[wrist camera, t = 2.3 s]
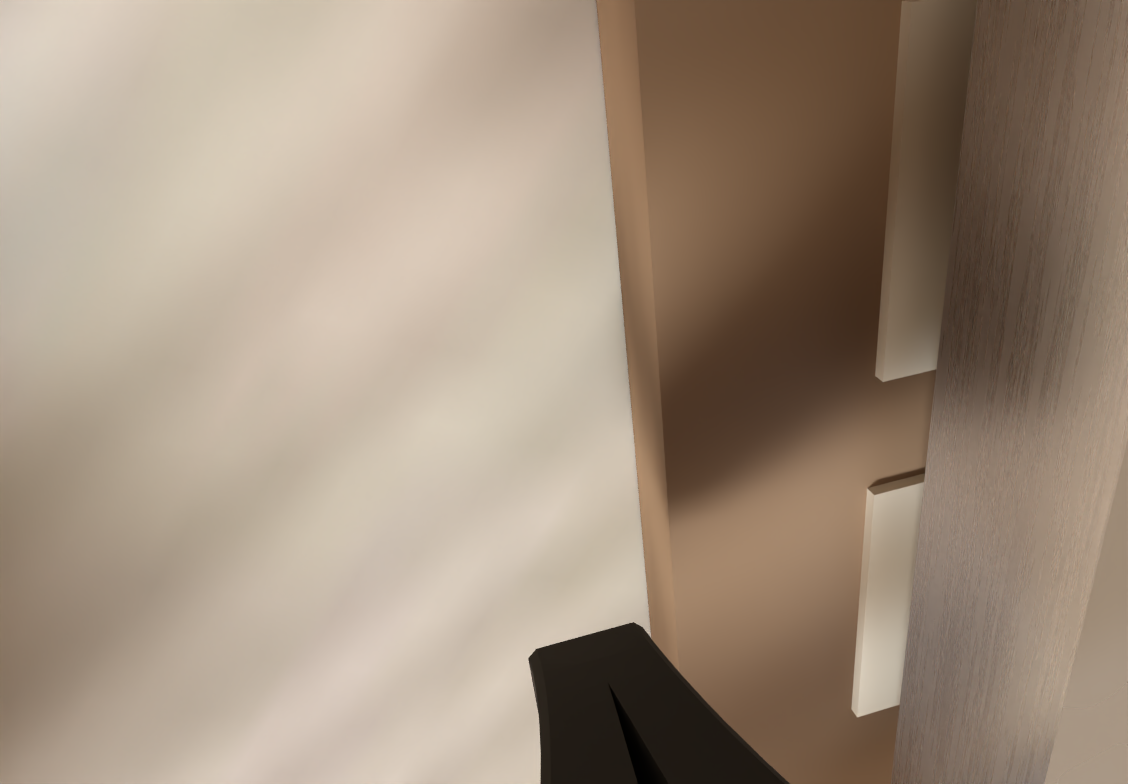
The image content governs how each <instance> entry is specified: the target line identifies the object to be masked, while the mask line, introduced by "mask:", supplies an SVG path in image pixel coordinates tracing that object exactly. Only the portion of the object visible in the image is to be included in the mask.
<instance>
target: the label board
mask: <svg viewBox="0 0 1128 784" xmlns="http://www.w3.org/2000/svg"><path fill="white" fill-rule="evenodd" d="M596 2H597V13H598V25H599V37H600V48H601V60H602V71H603V83H604V95H605V106H606V118H607V129H608V141H609V153H610V164H611V176H612V187H613V199H614V211H615V222H616V234H617V245H618V257H619V269H620V280H621V292H622V303H623V315H624V327H625V338H626V350H627V361H628V373H629V385H630V396H631V408H632V419H633V431H634V443H635V454H636V466H637V477H638V489H639V501H640V512H641V524H642V535H643V547H644V559H645V570H646V582H647V593H648V605H649V617H650V628H651V639H652V640H653V641H654V643H655V644H656V645H657V646H658V648H659V649H660V650H661V651H662V653H663V654H664V655H665V656H666V657H667V658H668V660H669V661H670V662H671V663H672V664H673V666H674V667H675V668H676V669H677V670H678V671H679V672H680V673H681V675H682V676H683V677H684V678H685V679H686V680H687V681H688V682H689V683H690V685H691V686H692V687H693V688H694V689H695V690H696V691H697V692H698V693H699V694H700V695H701V697H702V698H703V699H704V700H705V701H706V702H707V703H708V704H709V705H710V706H711V707H712V708H713V709H714V710H715V711H716V712H717V713H718V714H719V715H720V717H721V718H722V719H723V720H724V721H725V722H726V723H727V724H728V725H729V726H730V727H731V728H732V729H734V730H735V731H736V732H737V733H738V734H739V735H740V736H741V737H742V738H743V739H744V740H745V741H746V742H747V743H748V744H749V745H750V746H751V747H752V748H753V749H754V750H755V751H756V752H757V753H758V754H759V755H760V756H761V757H762V758H763V759H764V760H765V761H766V762H767V763H768V764H769V765H771V766H772V767H773V768H774V769H775V770H776V771H777V772H778V773H779V774H780V775H781V776H782V777H783V778H785V779H786V780H787V781H788V782H789V783H790V784H891V778H892V769H893V760H894V751H895V742H896V733H897V724H898V715H899V706H900V697H901V687H902V678H903V669H904V660H905V651H906V642H907V633H908V624H909V615H910V606H911V597H912V587H913V578H914V569H915V560H916V551H917V542H918V533H919V524H920V515H921V506H922V496H923V487H924V478H925V469H926V460H927V451H928V442H929V433H930V424H931V415H932V405H933V396H934V387H935V378H936V369H937V360H938V351H939V342H940V333H941V324H942V314H943V305H944V296H945V287H946V278H947V269H948V260H949V251H950V242H951V233H952V224H953V214H954V205H955V196H956V187H957V178H958V169H959V160H960V151H961V142H962V133H963V123H964V114H965V105H966V96H967V87H968V78H969V69H970V60H971V51H972V42H973V32H974V23H975V14H976V5H977V0H596Z"/></svg>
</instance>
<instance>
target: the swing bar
mask: <svg viewBox="0 0 1128 784" xmlns="http://www.w3.org/2000/svg"><path fill="white" fill-rule="evenodd" d="M891 784H1128V0H977V5H976V14H975V23H974V32H973V42H972V51H971V60H970V69H969V78H968V87H967V96H966V105H965V114H964V123H963V133H962V142H961V151H960V160H959V169H958V178H957V187H956V196H955V205H954V214H953V224H952V233H951V242H950V251H949V260H948V269H947V278H946V287H945V296H944V305H943V314H942V324H941V333H940V342H939V351H938V360H937V369H936V378H935V387H934V396H933V405H932V415H931V424H930V433H929V442H928V451H927V460H926V469H925V478H924V487H923V496H922V506H921V515H920V524H919V533H918V542H917V551H916V560H915V569H914V578H913V587H912V597H911V606H910V615H909V624H908V633H907V642H906V651H905V660H904V669H903V678H902V687H901V697H900V706H899V715H898V724H897V733H896V742H895V751H894V760H893V769H892V778H891Z"/></svg>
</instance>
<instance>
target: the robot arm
mask: <svg viewBox="0 0 1128 784" xmlns="http://www.w3.org/2000/svg"><path fill="white" fill-rule="evenodd" d="M528 659H529V665H530V670H531V675H532V681H533V686H534V692H535V697H536V702H537V708H538V713H539V724H540V744H541V784H790V783H789V782H788V781H787V780H786V779H785V778H783V777H782V776H781V775H780V774H779V773H778V772H777V771H776V770H775V769H774V768H773V767H772V766H771V765H769V764H768V763H767V762H766V761H765V760H764V759H763V758H762V757H761V756H760V755H759V754H758V753H757V752H756V751H755V750H754V749H753V748H752V747H751V746H750V745H749V744H748V743H747V742H746V741H745V740H744V739H743V738H742V737H741V736H740V735H739V734H738V733H737V732H736V731H735V730H734V729H732V728H731V727H730V726H729V725H728V724H727V723H726V722H725V721H724V720H723V719H722V718H721V717H720V715H719V714H718V713H717V712H716V711H715V710H714V709H713V708H712V707H711V706H710V705H709V704H708V703H707V702H706V701H705V700H704V699H703V698H702V697H701V695H700V694H699V693H698V692H697V691H696V690H695V689H694V688H693V687H692V686H691V685H690V683H689V682H688V681H687V680H686V679H685V678H684V677H683V676H682V675H681V673H680V672H679V671H678V670H677V669H676V668H675V667H674V666H673V664H672V663H671V662H670V661H669V660H668V658H667V657H666V656H665V655H664V654H663V653H662V651H661V650H660V649H659V648H658V646H657V645H656V644H655V643H654V641H653V640H652V639H651V638H650V636H649V635H648V634H647V633H646V631H645V630H644V629H643V627H641V626H639V625H637V624H636V623H634V622H633V623H629V624H625V625H622V626H618V627H615V628H611V629H607V630H604V631H600V632H596V633H593V634H589V635H585V636H582V637H578V638H575V639H571V640H567V641H564V642H560V643H556V644H553V645H549V646H545V647H542V648H538V649H536V650H535V651H534V652H533V654H532V655H531V656H530V657H529V658H528Z"/></svg>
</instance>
